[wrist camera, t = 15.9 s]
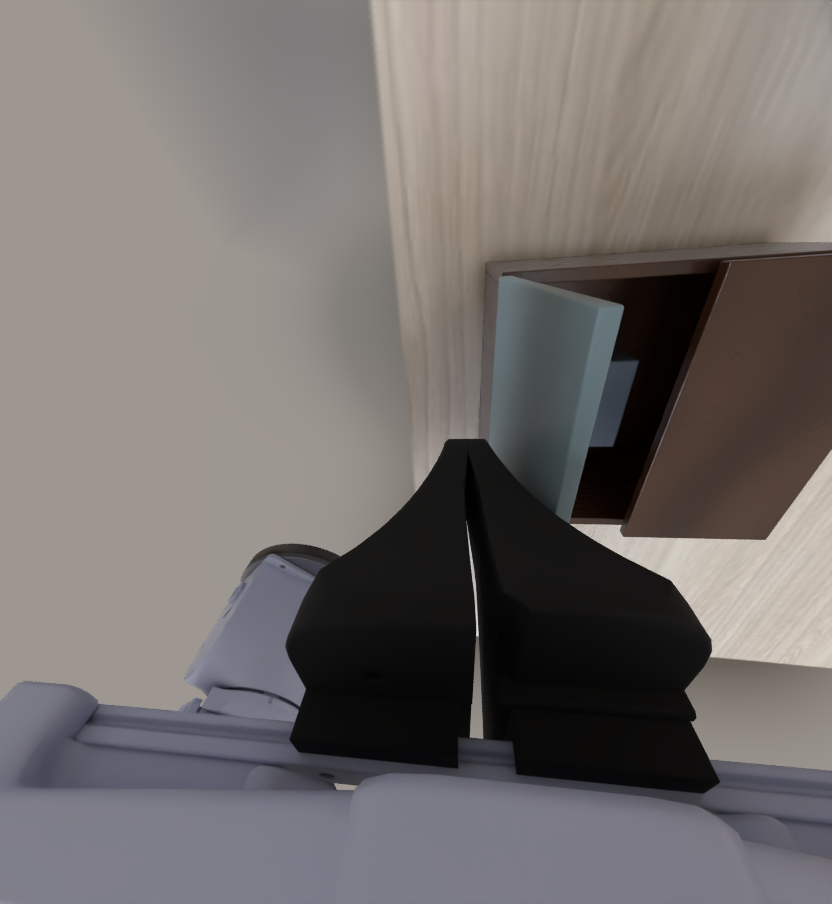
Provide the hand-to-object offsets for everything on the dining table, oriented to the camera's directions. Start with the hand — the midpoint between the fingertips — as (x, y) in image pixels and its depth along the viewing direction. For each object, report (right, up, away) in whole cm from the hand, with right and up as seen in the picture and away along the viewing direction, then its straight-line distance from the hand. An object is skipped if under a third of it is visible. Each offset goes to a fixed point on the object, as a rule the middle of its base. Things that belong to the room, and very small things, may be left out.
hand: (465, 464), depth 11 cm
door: (+2, 0, -1) cm, 2 cm away
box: (+8, +5, +6) cm, 11 cm away
